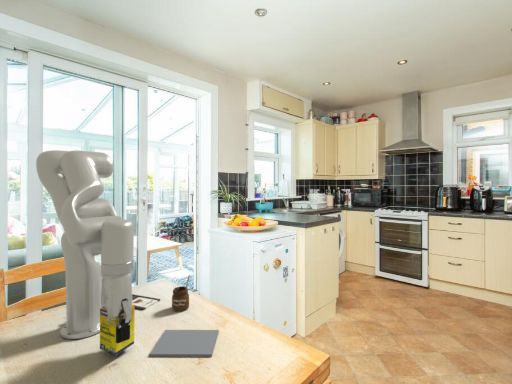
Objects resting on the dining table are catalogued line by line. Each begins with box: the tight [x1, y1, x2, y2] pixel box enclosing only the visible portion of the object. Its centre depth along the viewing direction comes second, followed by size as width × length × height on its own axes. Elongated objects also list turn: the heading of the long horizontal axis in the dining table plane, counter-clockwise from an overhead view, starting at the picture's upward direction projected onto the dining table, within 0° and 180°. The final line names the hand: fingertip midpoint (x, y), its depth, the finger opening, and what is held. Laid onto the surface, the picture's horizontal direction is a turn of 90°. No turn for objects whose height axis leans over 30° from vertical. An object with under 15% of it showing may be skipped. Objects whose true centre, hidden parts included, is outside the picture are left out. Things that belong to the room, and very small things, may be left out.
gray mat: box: [149, 329, 220, 358], centre depth 77 cm, size 16×12×1 cm
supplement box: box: [99, 304, 136, 356], centre depth 73 cm, size 6×6×11 cm
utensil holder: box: [171, 274, 191, 313], centre depth 99 cm, size 6×6×12 cm
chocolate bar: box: [132, 293, 161, 311], centre depth 105 cm, size 9×1×18 cm
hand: (117, 333), depth 73 cm, fingers closed on supplement box, 7 cm apart
